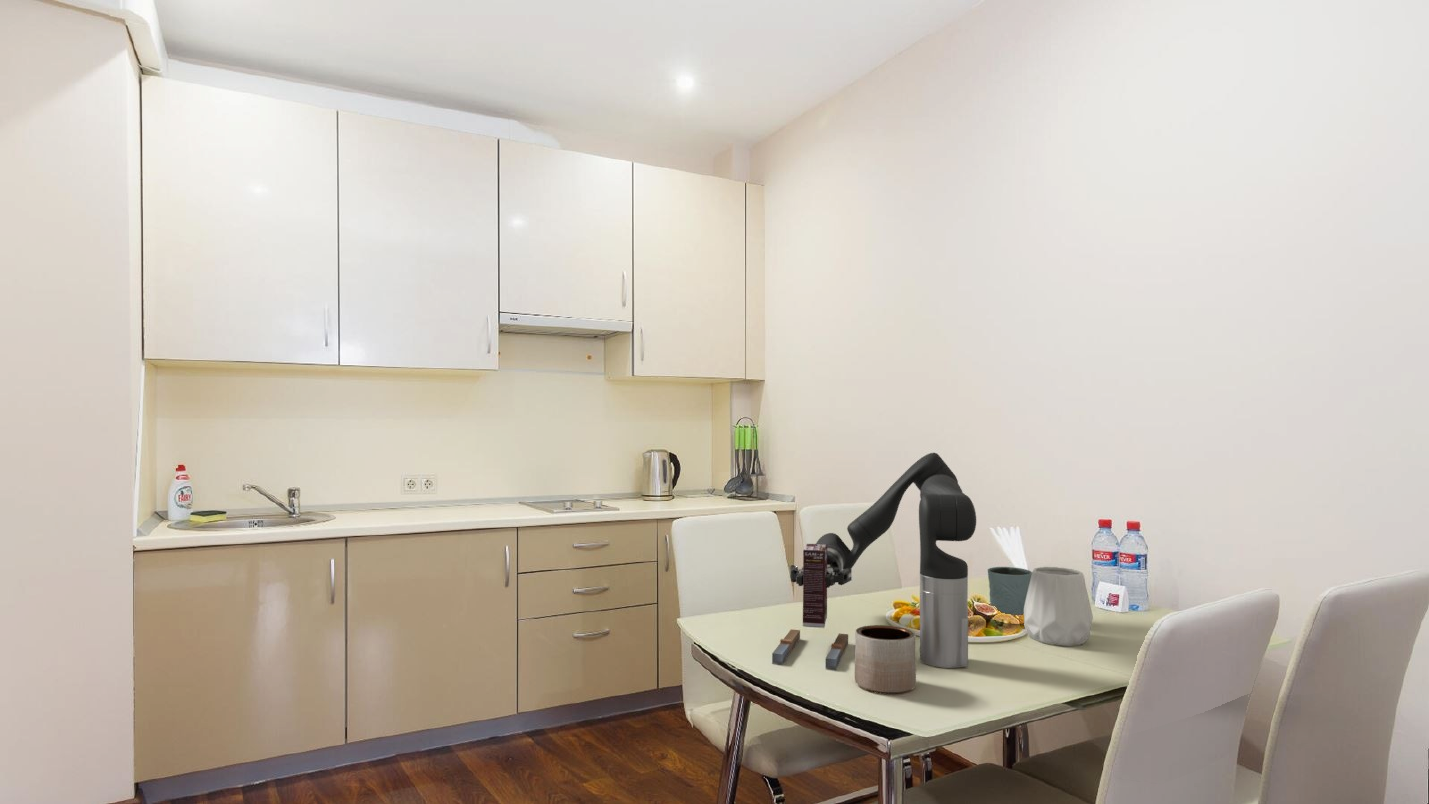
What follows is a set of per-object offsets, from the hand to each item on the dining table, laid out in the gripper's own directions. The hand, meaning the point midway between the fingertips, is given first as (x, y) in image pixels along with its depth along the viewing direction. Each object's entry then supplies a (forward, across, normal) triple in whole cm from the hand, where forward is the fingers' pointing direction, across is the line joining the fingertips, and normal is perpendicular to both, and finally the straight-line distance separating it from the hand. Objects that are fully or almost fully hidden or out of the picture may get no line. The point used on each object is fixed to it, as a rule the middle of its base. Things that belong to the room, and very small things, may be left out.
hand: (813, 581), depth 166 cm
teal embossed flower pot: (-41, -41, -16) cm, 60 cm away
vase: (-26, -50, -15) cm, 58 cm away
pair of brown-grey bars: (+2, 0, -14) cm, 14 cm away
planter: (+17, -16, -14) cm, 27 cm away
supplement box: (-3, 0, -9) cm, 10 cm away
